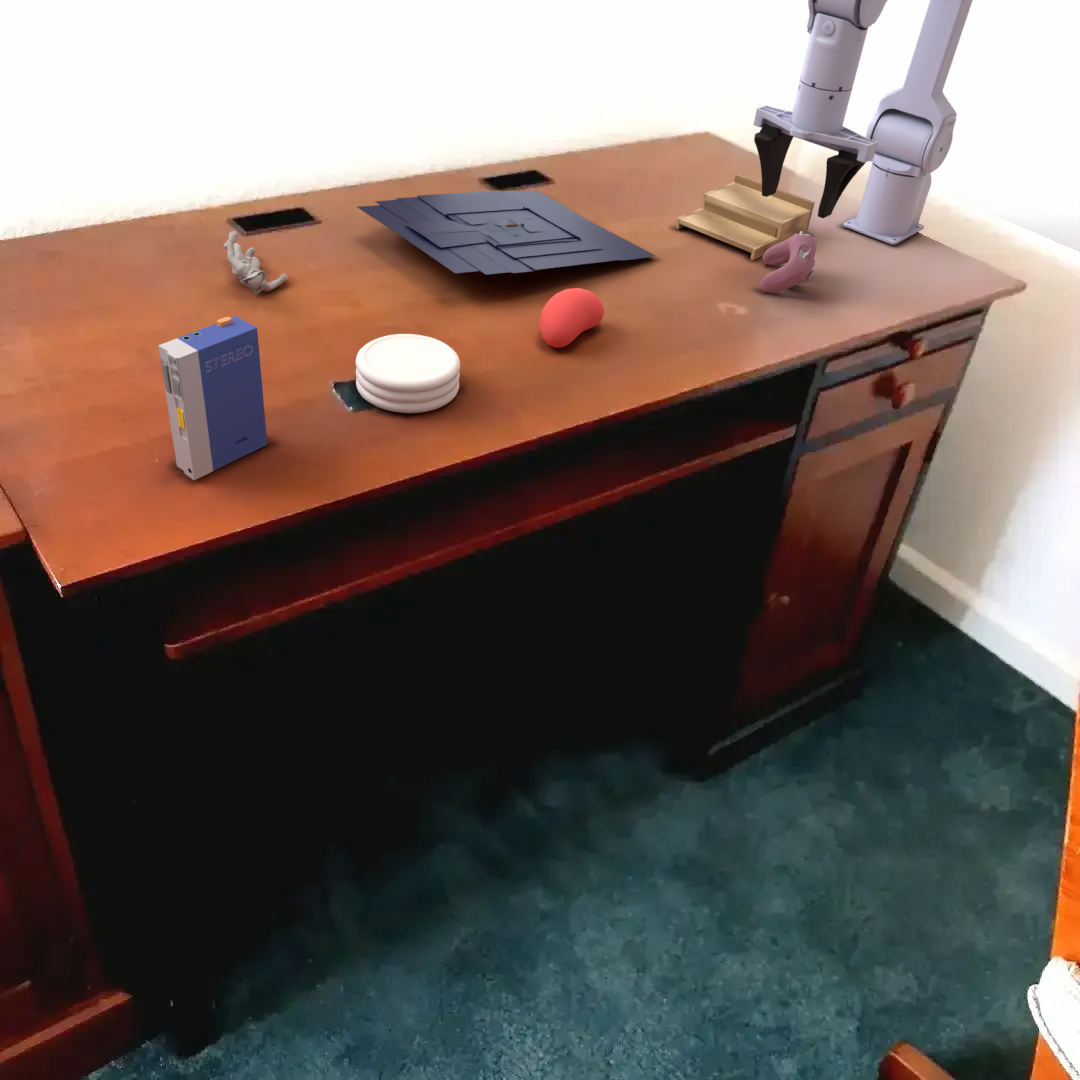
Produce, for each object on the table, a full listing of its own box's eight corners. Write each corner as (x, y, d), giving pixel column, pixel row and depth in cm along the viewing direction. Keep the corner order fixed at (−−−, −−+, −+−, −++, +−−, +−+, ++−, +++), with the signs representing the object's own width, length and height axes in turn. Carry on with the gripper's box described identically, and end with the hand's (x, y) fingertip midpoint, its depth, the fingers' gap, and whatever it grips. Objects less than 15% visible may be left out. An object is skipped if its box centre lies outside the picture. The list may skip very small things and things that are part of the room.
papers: (346, 223, 130) (348, 193, 128) (532, 209, 148) (537, 183, 146) (461, 303, 116) (466, 272, 114) (652, 277, 134) (659, 249, 132)
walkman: (247, 432, 95) (235, 311, 88) (267, 445, 94) (257, 323, 87) (173, 467, 90) (153, 342, 83) (193, 481, 89) (175, 355, 82)
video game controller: (785, 310, 128) (825, 266, 124) (755, 289, 127) (794, 244, 123) (787, 277, 136) (824, 234, 132) (759, 256, 135) (795, 213, 131)
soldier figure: (276, 265, 124) (306, 277, 114) (251, 299, 124) (279, 313, 114) (221, 221, 120) (248, 229, 110) (195, 255, 120) (220, 266, 110)
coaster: (413, 352, 109) (413, 322, 107) (479, 393, 104) (481, 361, 102) (335, 383, 103) (333, 351, 101) (401, 427, 98) (402, 395, 96)
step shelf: (730, 205, 150) (737, 173, 147) (806, 234, 144) (814, 202, 141) (675, 228, 141) (681, 195, 138) (753, 260, 135) (761, 226, 133)
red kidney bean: (520, 341, 116) (524, 309, 110) (575, 293, 119) (582, 260, 113) (554, 371, 115) (561, 341, 109) (609, 322, 118) (618, 290, 112)
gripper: (750, 71, 116) (725, 192, 125) (867, 108, 109) (833, 233, 118) (784, 62, 121) (758, 179, 129) (899, 97, 114) (863, 218, 122)
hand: (796, 204), depth 124 cm, fingers open, 7 cm apart
